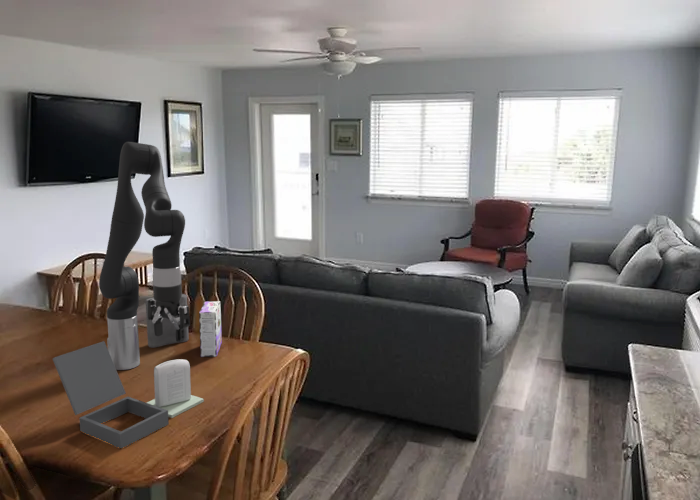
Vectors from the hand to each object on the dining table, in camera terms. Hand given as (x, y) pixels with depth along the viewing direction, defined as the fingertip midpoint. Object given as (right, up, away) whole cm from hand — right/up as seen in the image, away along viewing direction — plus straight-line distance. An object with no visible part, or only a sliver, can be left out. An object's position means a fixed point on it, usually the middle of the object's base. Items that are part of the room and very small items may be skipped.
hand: (169, 338), depth 163 cm
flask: (-17, -10, +54) cm, 58 cm away
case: (-9, -22, -10) cm, 26 cm away
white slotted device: (0, -19, +4) cm, 19 cm away
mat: (0, -20, +4) cm, 20 cm away
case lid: (-19, -9, -6) cm, 22 cm away
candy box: (+1, -12, +47) cm, 48 cm away
